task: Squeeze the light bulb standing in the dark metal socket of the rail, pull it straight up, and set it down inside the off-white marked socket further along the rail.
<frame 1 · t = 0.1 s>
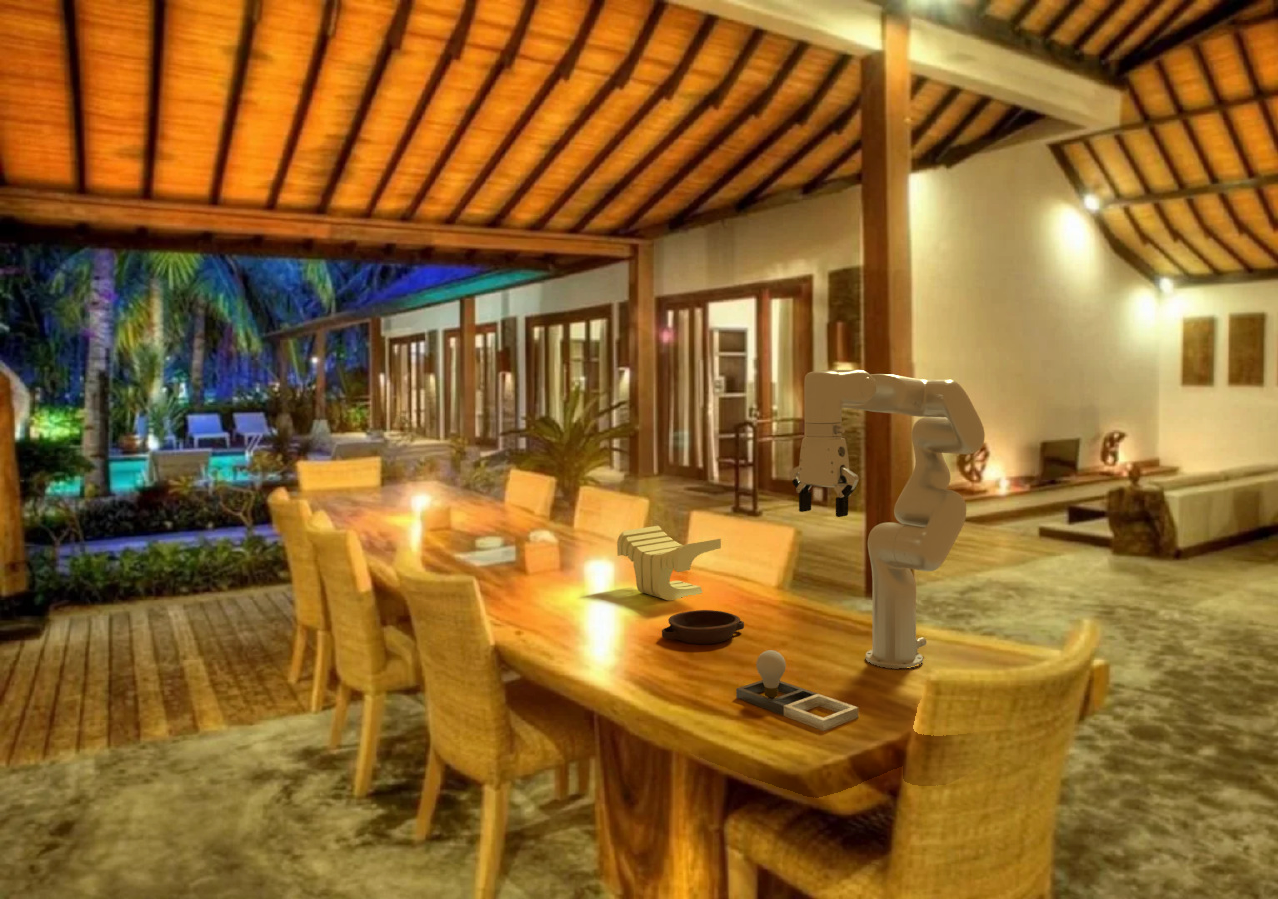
hand: (823, 513, 191), 37 cm above the table, tool pointing down, fingers open, 9 cm apart
light bulb: (771, 699, 187), resting in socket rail
dish: (704, 638, 231), on the table
slatted curved stool: (668, 594, 276), on the table
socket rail: (793, 706, 183), on the table
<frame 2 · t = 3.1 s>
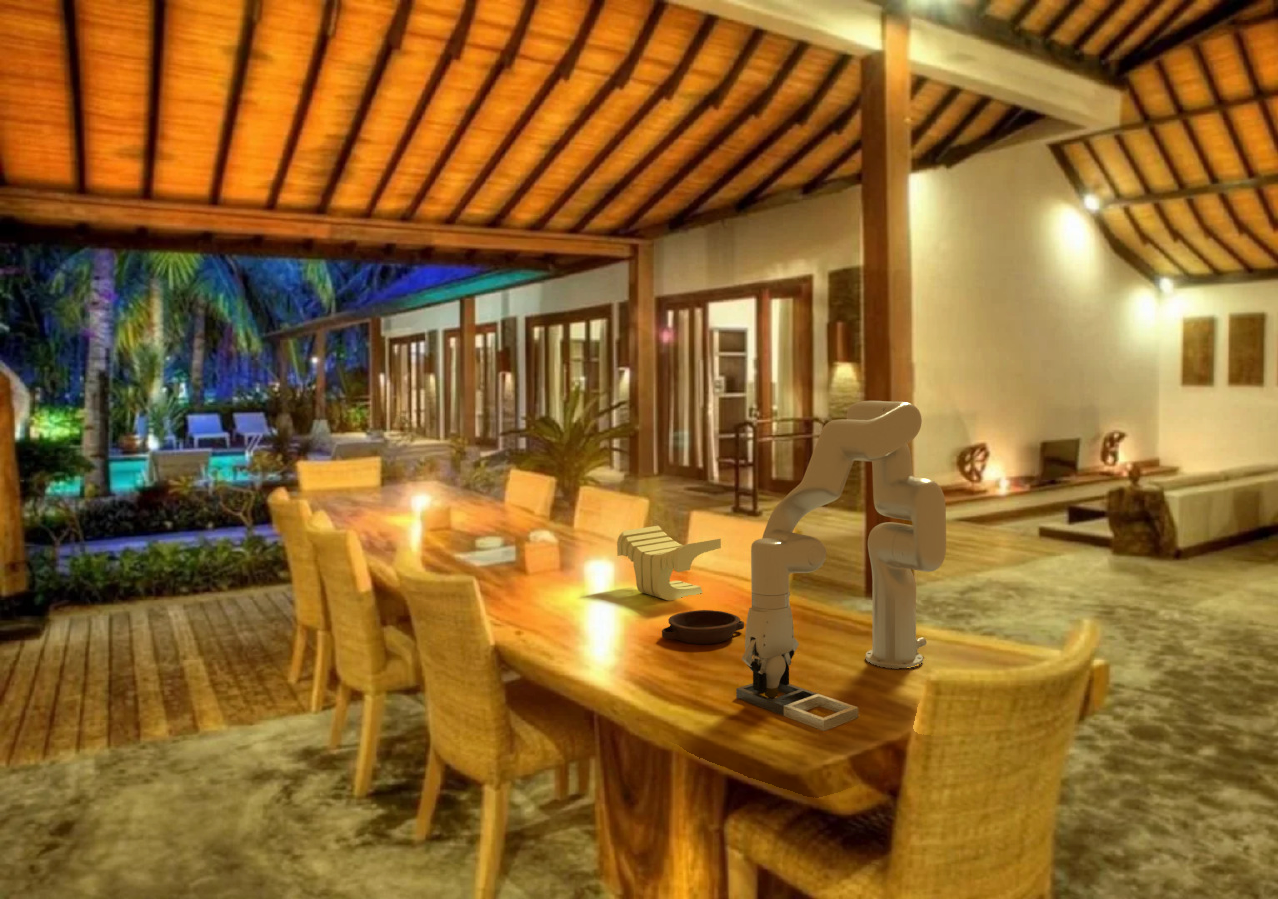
hand: (771, 686, 187), 3 cm above the table, tool pointing down, fingers closed on light bulb, 5 cm apart
light bulb: (771, 699, 187), resting in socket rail, touching gripper
everything else where it was.
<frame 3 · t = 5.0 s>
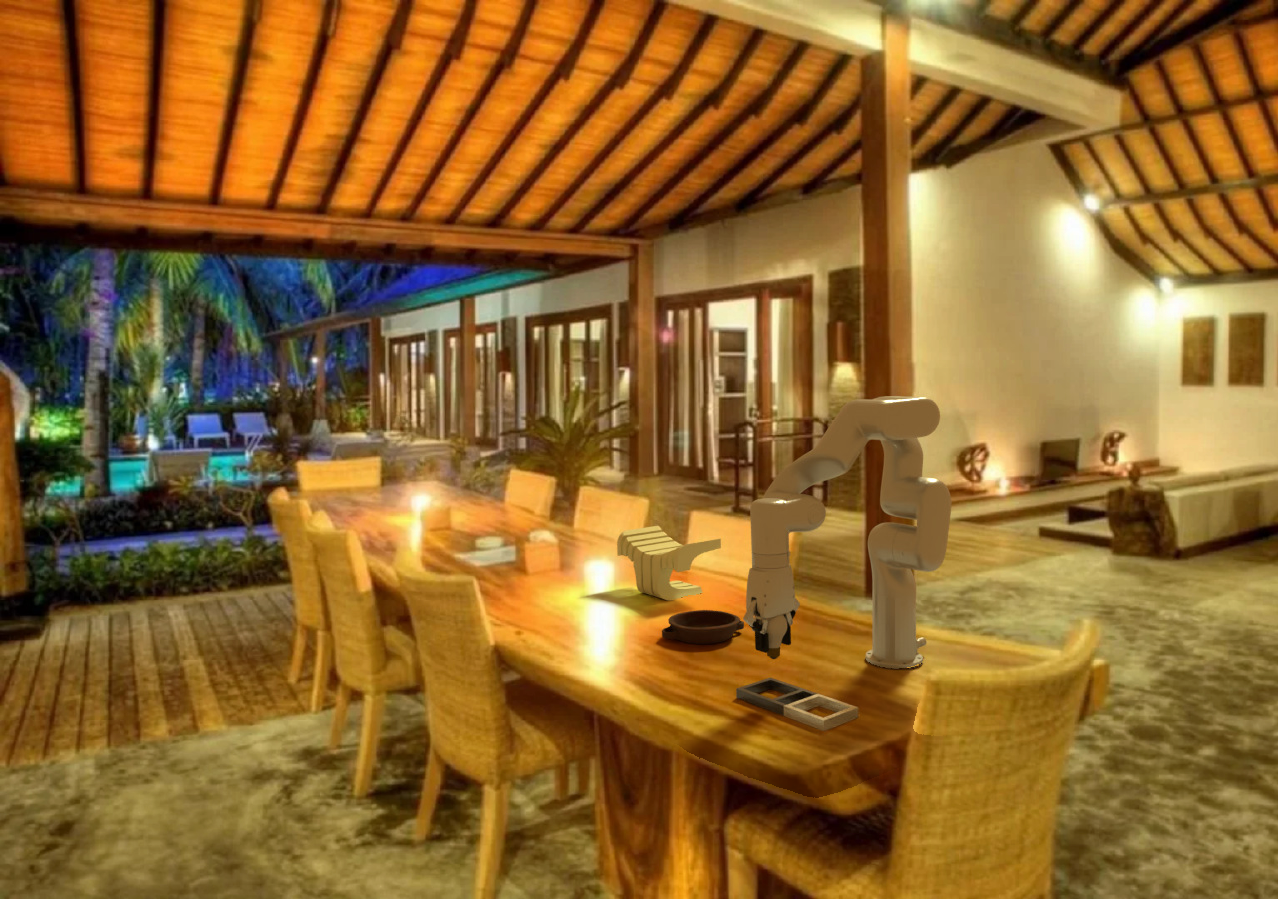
hand: (773, 646, 187), 11 cm above the table, tool pointing down, fingers closed on light bulb, 5 cm apart
light bulb: (773, 659, 187), point 8 cm above the table, touching gripper
everything else where it was.
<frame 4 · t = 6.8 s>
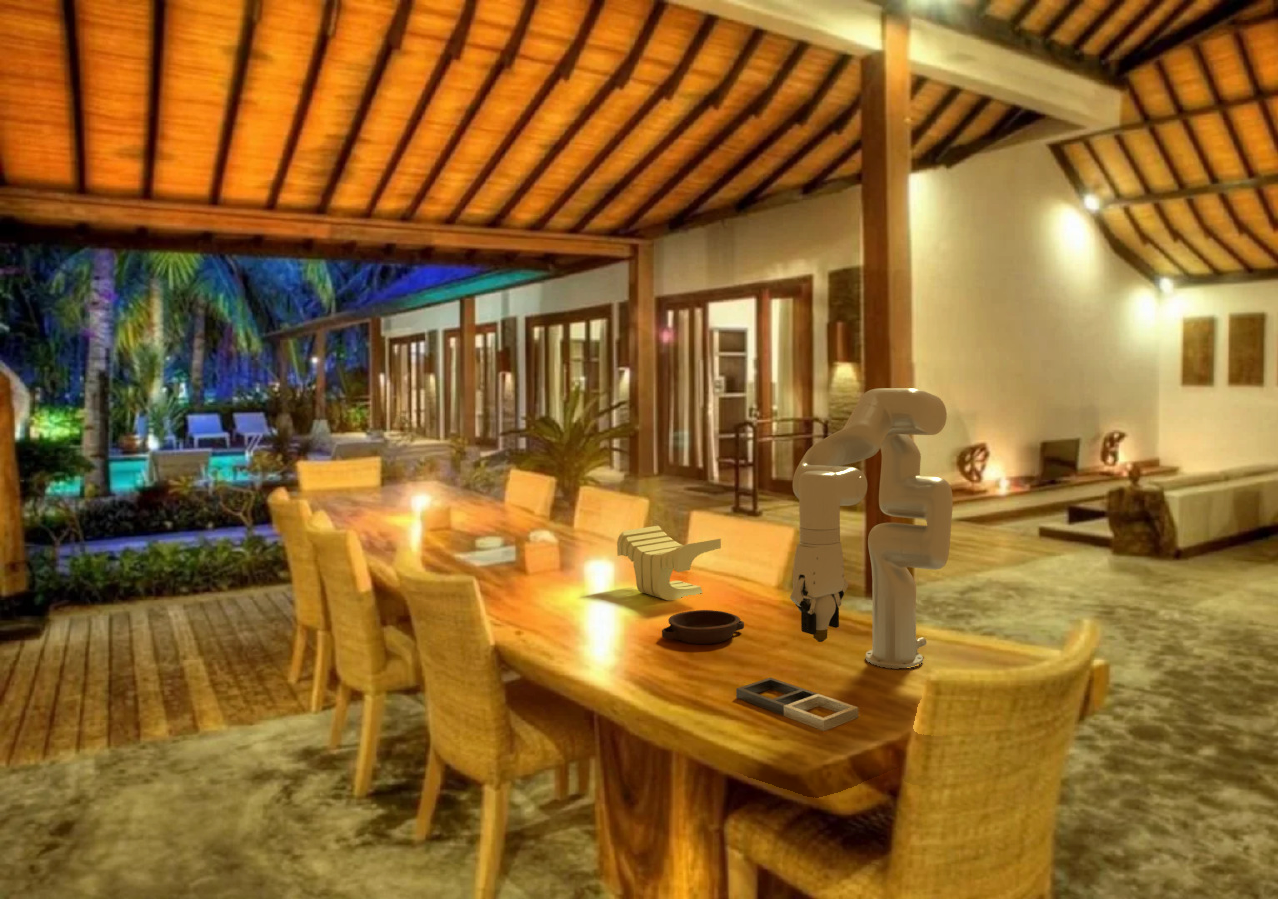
hand: (820, 628, 176), 17 cm above the table, tool pointing down, fingers closed on light bulb, 5 cm apart
light bulb: (820, 642, 176), point 15 cm above the table, touching gripper
everything else where it was.
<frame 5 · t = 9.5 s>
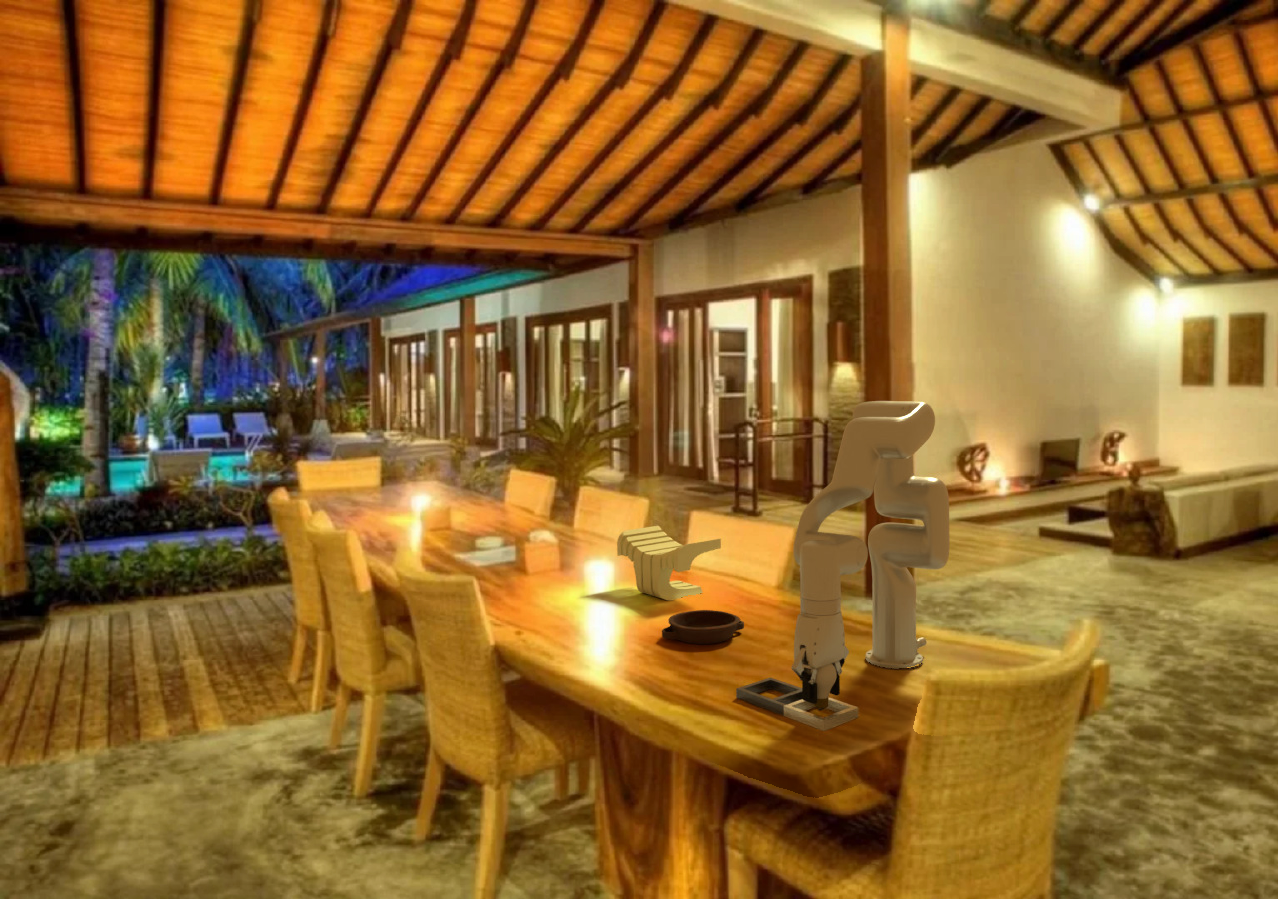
hand: (821, 696, 177), 4 cm above the table, tool pointing down, fingers closed on light bulb, 5 cm apart
light bulb: (821, 710, 177), point 1 cm above the table, touching gripper
everything else where it was.
when the fingers open (4 cm above the table, at t = 10.1 s): light bulb drops 1 cm, resting in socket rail.
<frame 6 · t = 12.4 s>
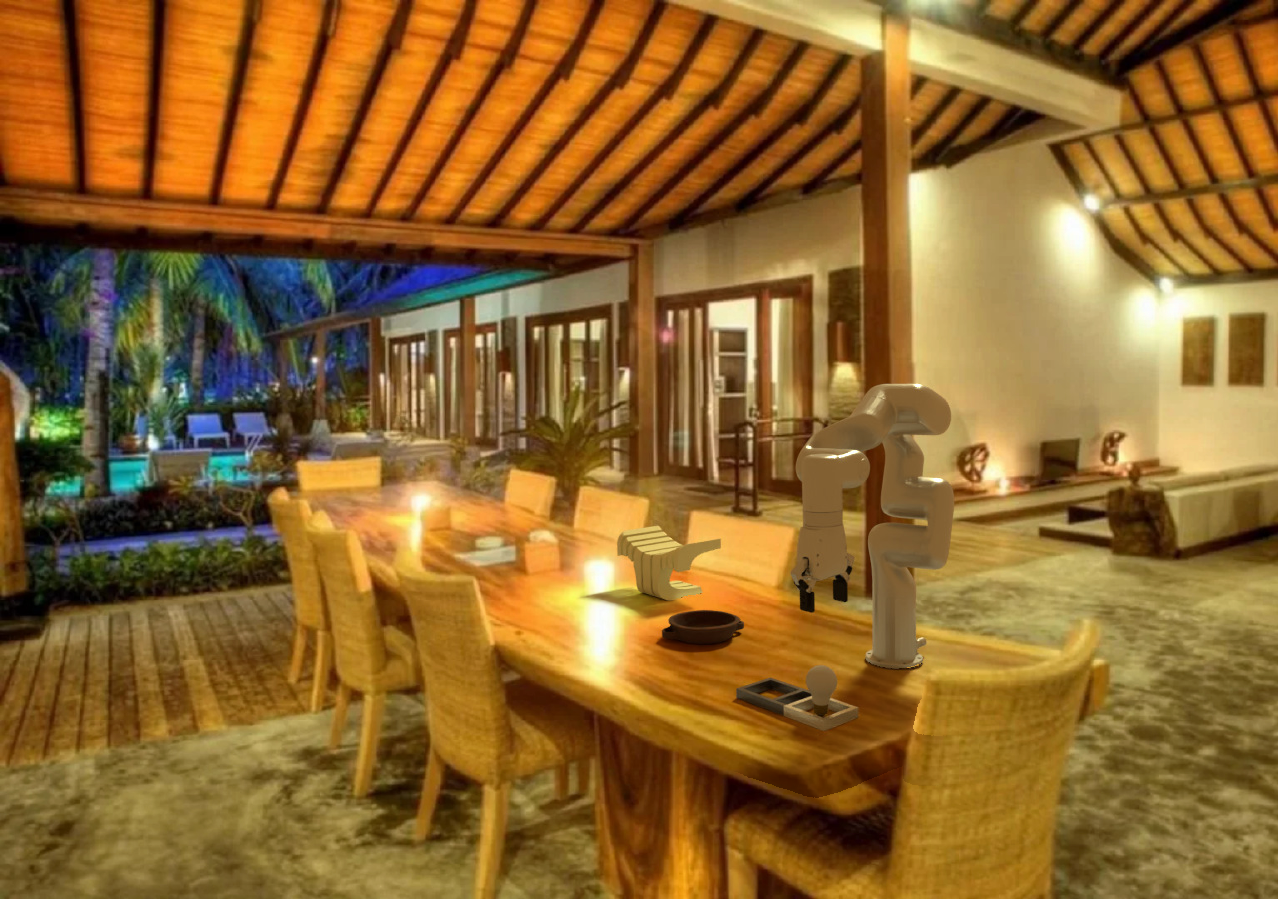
hand: (824, 605, 178), 21 cm above the table, tool pointing down, fingers open, 9 cm apart
light bulb: (820, 717, 177), resting in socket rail
everything else where it was.
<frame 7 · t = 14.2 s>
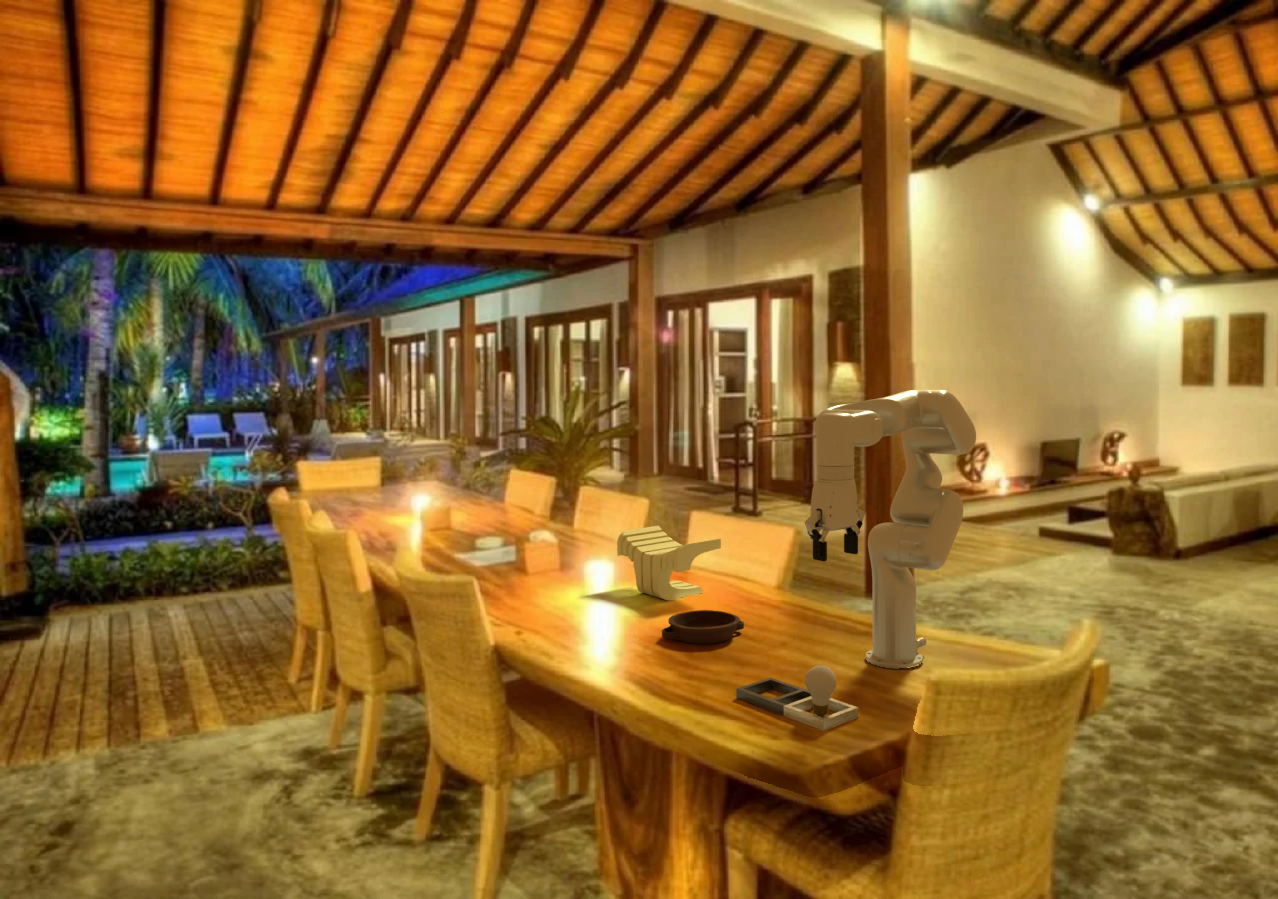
hand: (835, 556, 188), 28 cm above the table, tool pointing down, fingers open, 9 cm apart
nothing on the table moved.
at the end: light bulb 0.1 cm from the target spot on the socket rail, point 0.0 cm above the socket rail's base; light bulb tilted 2°; the gripper is holding nothing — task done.
